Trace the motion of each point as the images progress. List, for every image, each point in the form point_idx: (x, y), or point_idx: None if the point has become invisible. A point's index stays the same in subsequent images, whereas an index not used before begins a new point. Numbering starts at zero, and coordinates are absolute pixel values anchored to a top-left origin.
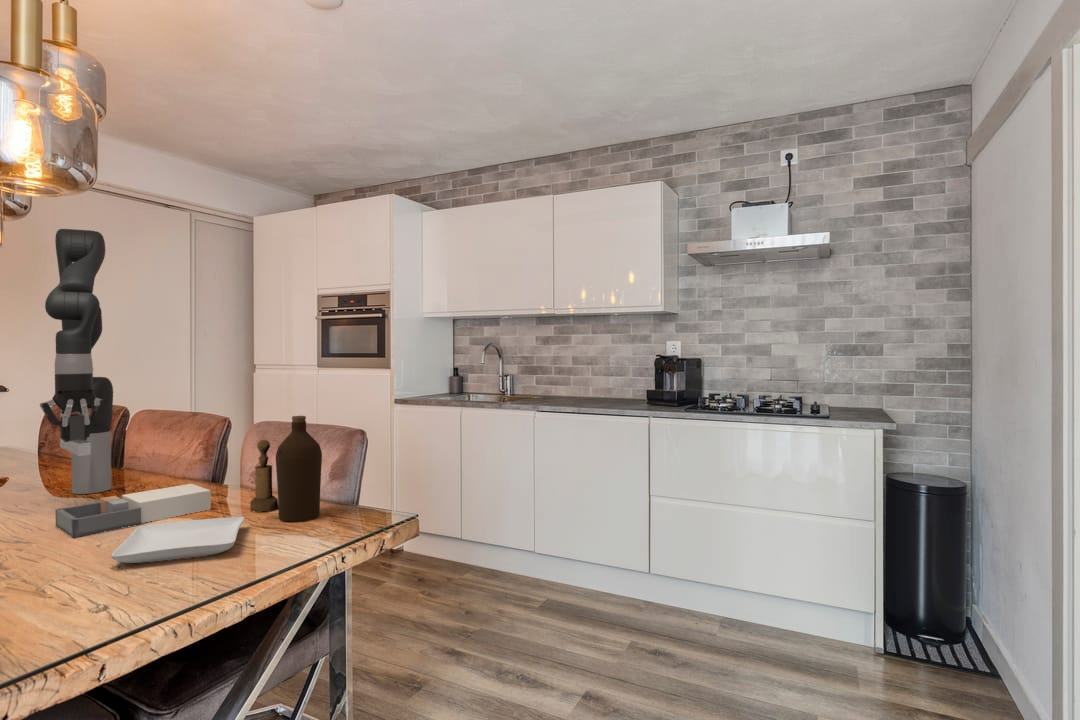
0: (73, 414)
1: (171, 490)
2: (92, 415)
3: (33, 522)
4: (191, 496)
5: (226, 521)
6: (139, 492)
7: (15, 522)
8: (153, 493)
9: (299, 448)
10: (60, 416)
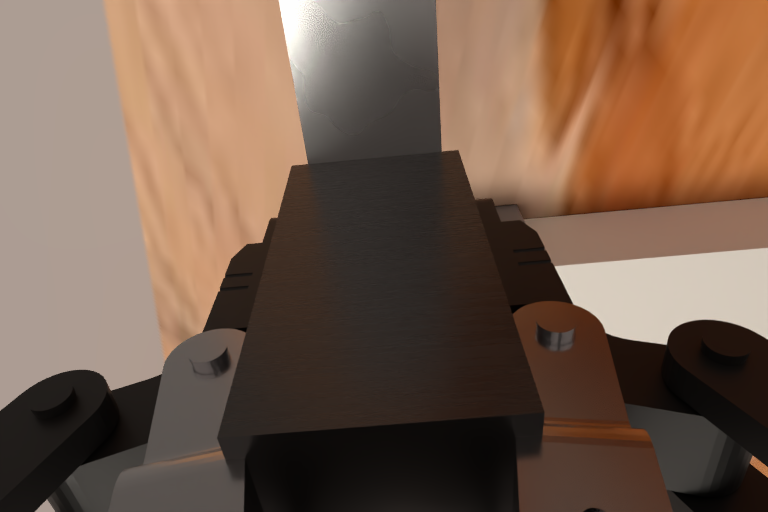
0: (396, 450)
1: (715, 319)
2: (745, 436)
3: (208, 85)
4: None
5: None
6: (611, 267)
7: (133, 20)
8: (637, 325)
9: None
10: (136, 471)
